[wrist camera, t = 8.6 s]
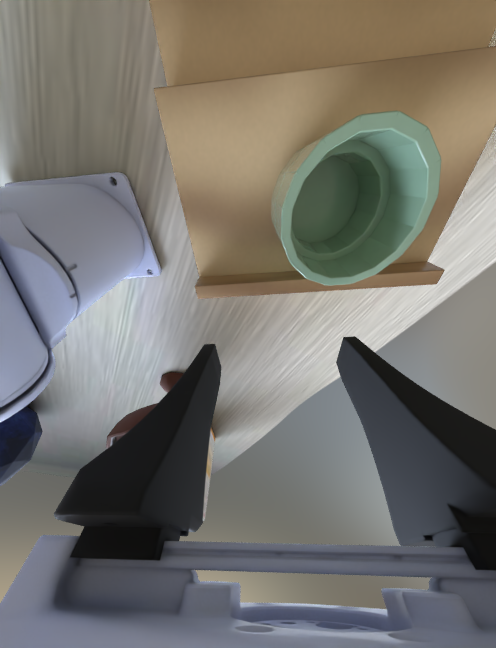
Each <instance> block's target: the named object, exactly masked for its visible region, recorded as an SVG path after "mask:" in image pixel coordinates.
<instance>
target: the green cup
mask: <svg viewBox="0 0 496 648" xmlns="http://www.w3.org/2000/svg"><path fill="white" fill-rule="evenodd" d="M440 171H441V156H440V154H439V151H438V149H437V146H436V144H435V142H434V139H433V137H432V135H431V132H430V130H429V128H428V127H427V126H426V125H424V124H422V123H421V122H419V121H417V120H415V119H413V118H412V117H410V116H408V115H406V114H405V113H403V112H401V111H397V110H395V111H386V112H377V113H368V114H361V115H358V116H356V117H354V118H353V119H351V120H349V121H347V122H345V123H344V124H342V125H340V126H338V127H337V128H335V129H333V130H331V131H329V132H328V133H326V134H324V135H322V136H320V137H319V138H317V139H315V140H314V141H312V142H310V143H309V144H307V145H306V146H304V147H302V148H301V149H299V150H298V151H296V153H295V154H294V155H293V156H292V157H291V159H290V160H289V161H288V163H287V164H286V165H285V167H284V168H283V169H282V171H281V172H280V174H279V176H278V179H277V182H276V185H275V188H274V191H273V194H272V199H271V219H272V223H273V225H274V228H275V230H276V233H277V236H278V238H279V240H280V242H281V245H282V247H283V249H284V251H285V254H286V256H287V258H288V260H289V262H290V264H291V265H292V266H293V267H294V268H295V269H296V270H297V271H298V272H300V273H301V274H302V275H303V276H304V277H305V278H306V279H308V280H311V281H315V282H318V283H321V284H324V285H328V286H329V285H345V284H353V283H355V282H358V281H360V280H363V279H365V278H368V277H370V276H373V275H376V274H377V273H379V272H380V271H381V270H383V269H384V268H385V267H387V266H388V265H389V264H391V263H392V262H394V261H395V260H396V259H398V258H399V257H400V256H401V255H402V254H403V253H404V252H405V251H406V250H407V248H408V247H409V246H410V245H411V243H412V242H413V241H414V240H415V238H416V237H417V236H418V235H419V234H420V232H421V231H422V230H423V228H424V226H425V224H426V222H427V220H428V217H429V215H430V213H431V211H432V208H433V206H434V204H435V202H436V199H437V197H438V194H439V183H440Z"/></svg>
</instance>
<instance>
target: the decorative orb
mask: <svg viewBox="0 0 496 648" xmlns="http://www.w3.org/2000/svg"><path fill="white" fill-rule="evenodd" d="M41 434H42V429H41V425H40V422H39V419H38V415H37V413H36V412H34V411H33V410H31V409H30V408H28V407H26V406H25V407H24V408H23V409H21V410H20V411H18V412H17V413H15V414H14V415H12V416H11V417H9V418H7V419H6V420H4V421H2V422H0V486H1V485H2V484H4V483H6V482H7V481H8V480H9V479H10V478H11V477H12V476H13V475H14V474H15V473H17V472H18V471H19V470H20V469H21V468H22V467H23V466H24V465H25V464H26V463H28V462H29V461H30V460H31V458H32V455H33V453H34V451H35V448H36V446H37V444H38V441H39V439H40V437H41Z"/></svg>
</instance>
